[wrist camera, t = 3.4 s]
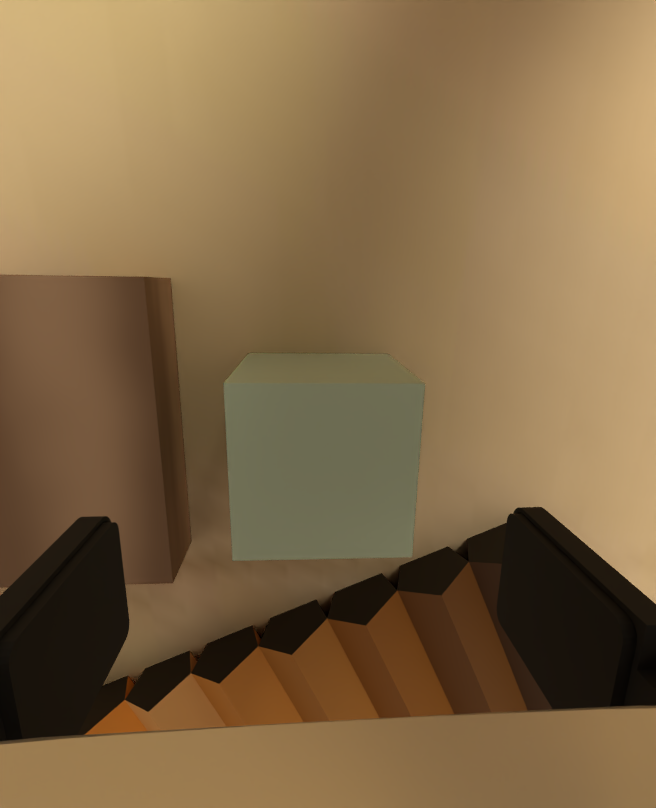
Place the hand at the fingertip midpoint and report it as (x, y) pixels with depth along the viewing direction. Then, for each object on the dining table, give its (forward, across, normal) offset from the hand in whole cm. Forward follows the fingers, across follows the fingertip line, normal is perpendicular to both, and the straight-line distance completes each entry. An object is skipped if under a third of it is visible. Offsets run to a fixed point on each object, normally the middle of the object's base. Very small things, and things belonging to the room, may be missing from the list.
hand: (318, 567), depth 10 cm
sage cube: (+10, 0, -1) cm, 10 cm away
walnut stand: (+10, +12, -1) cm, 15 cm away
